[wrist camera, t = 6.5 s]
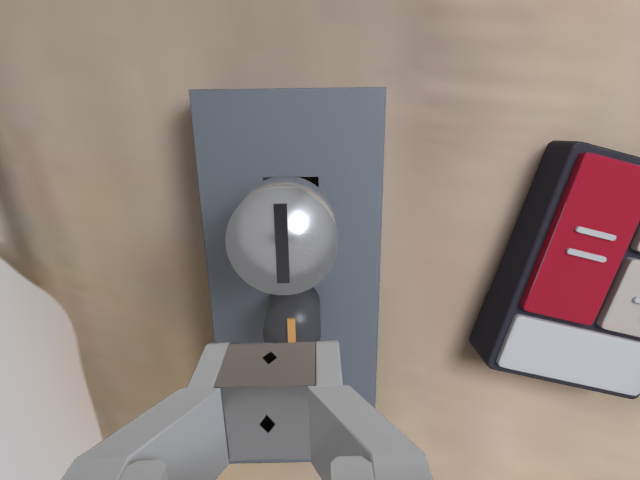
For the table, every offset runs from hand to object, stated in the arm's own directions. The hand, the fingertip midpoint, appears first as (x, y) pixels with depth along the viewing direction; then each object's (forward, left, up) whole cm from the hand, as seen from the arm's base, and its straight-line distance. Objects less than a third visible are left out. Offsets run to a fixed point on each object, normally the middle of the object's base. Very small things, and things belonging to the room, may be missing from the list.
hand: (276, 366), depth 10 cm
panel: (+5, 0, -18) cm, 19 cm away
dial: (+5, 0, -14) cm, 15 cm away
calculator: (+5, +19, -19) cm, 27 cm away
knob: (-1, 0, -14) cm, 14 cm away
